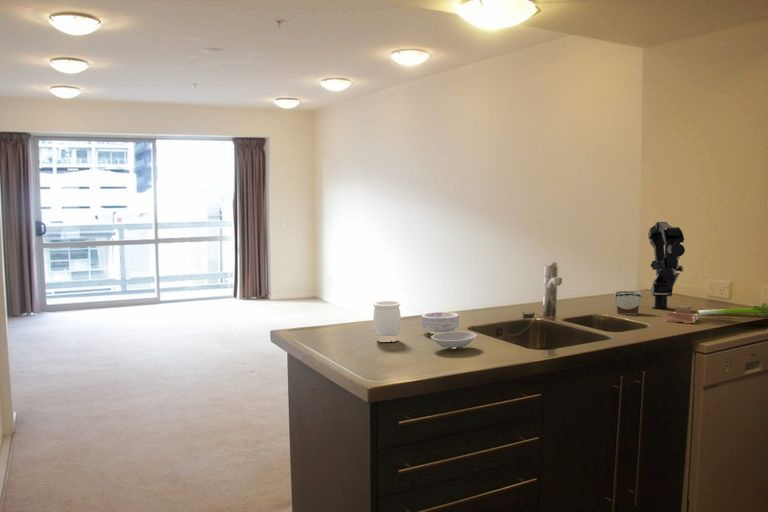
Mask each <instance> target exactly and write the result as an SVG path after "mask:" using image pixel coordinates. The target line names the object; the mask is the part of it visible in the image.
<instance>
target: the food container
mask: <svg viewBox="0 0 768 512" xmlns="http://www.w3.org/2000/svg"><path fill="white" fill-rule="evenodd" d="M613 297H614V298H615V305H616V306H615V308H616V314H617V315H639V311H640V303H641V302H640V301H641V298H642V297H643V296H642V293H641V291H640V292H639V291H632V290H619V291H616V292H614V295H613Z"/></svg>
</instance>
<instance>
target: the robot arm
mask: <svg viewBox="0 0 768 512" xmlns="http://www.w3.org/2000/svg"><path fill="white" fill-rule="evenodd" d="M647 238H648V240H649V244H650V245H651V246H652V248H653V251H654V252H653V253H654V254H653V255H654V260H652V261H651V263H650V268H651V269H652V271H655V278H654V280H653V282H652V285H651V288H650V295H651V297H654V306H652V308H651V309H655V308H658V309H657V310H668V309H670V308H669V307H670V306H668V297H672V296H673V289H674V287H675V284H676V282H677V280H678V278H679V277H680V275H681V273H683V272H684V266H682V264H681V265H680V264H679V259H680V257H682V256H683V255H684V254H685V253H686V251H685V250H686V248H685V246H684V245H683V244H681V243H684V241H685V237H684V233H683V231H682V229H681V228H680V227H679V226H671V224H668V222H667V221H657V222H655V224H654V225H653V226H652V227H650V228H649V230H648V234H647ZM680 272H681V273H680Z"/></svg>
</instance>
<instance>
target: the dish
mask: <svg viewBox="0 0 768 512" xmlns="http://www.w3.org/2000/svg"><path fill="white" fill-rule="evenodd" d="M477 336H478V335H477V334H476V333H473V332H469V331H454V332H444V333H438V334H434V335H431V336H430V338H431V339H432V340H433V341H434V342H435V343H436V344H437V345H438V346H440V347H442V348H445V347H450V348H449V349H451V348H453V347H461V348H464V347H466V346H468V345H469V344H471V343H472V342H473V341H474V339H476V338H477ZM463 346H464V347H463Z"/></svg>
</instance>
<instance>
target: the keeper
mask: <svg viewBox="0 0 768 512" xmlns="http://www.w3.org/2000/svg"><path fill="white" fill-rule="evenodd" d="M675 312H676V313H685V314H692V306H691V305H677V306H675Z"/></svg>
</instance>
